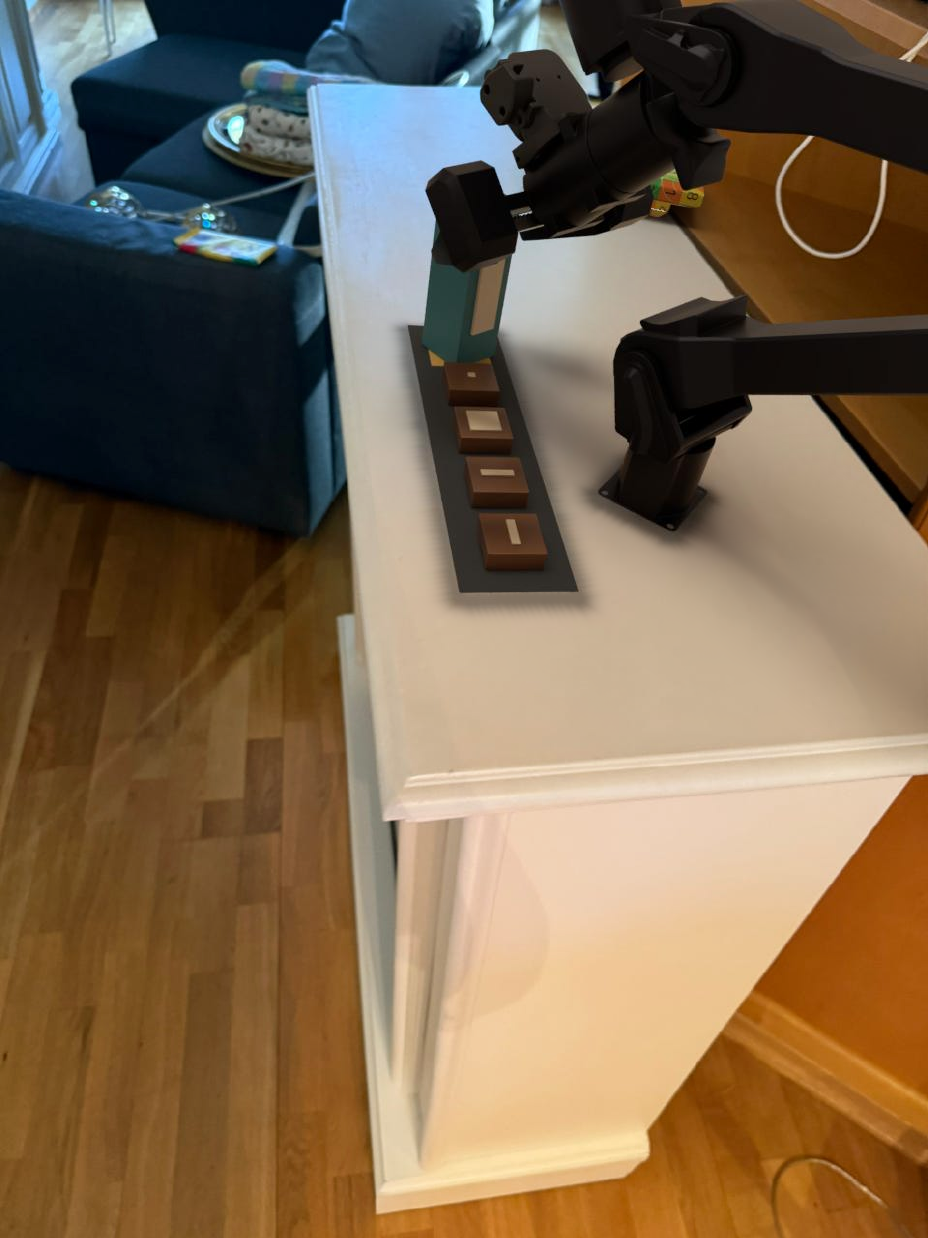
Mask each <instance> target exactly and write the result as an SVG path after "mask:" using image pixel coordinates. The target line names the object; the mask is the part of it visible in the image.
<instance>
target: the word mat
mask: <svg viewBox="0 0 928 1238" xmlns="http://www.w3.org/2000/svg"><path fill="white" fill-rule="evenodd" d="M423 329H424V325H419V324H418V325H416V324H407V331H408V335H409V340H410V341H409V342H410V345H411V350H412V355H413V361H414V367H415V371H416V376H417V377H416V378H417V382H418V386H419V392H420V397H421V403H422V406H423V407H422V408H423V412H424V413H423V414H424V417H425V423H426V428H427V432H428V437H429V444H430V448H431V453H432V454H431V455H432V459H433V464H434V468H435V473H436V479H437V485H438V489H439V494H440V499H441V505H442V511H443V515H444V520H445V521H444V522H445V525H446V531H447V536H448V540H449V545H450V550H451V556H452V561H453V566H454V571H455V577H456V581H457V586H458V592H459V593H460V594H472V593H473V594H476V593H478V594H479V593H480V594H481V593H485V594H487V593H490V594H491V593H578V592H579V588H578V585H577V581H576V579H575V575H574V572H573V569H572V565H571V562H570V560H569V557H568V553H567V550H566V546H565V543H564V541H563V537H562V535H561V531H560V528H559V525H558V522H557V519H556V515H555V512H554V509H553V506H552V503H551V499H550V496H549V493H548V490H547V488H546V487H547V486H546V485H545V484H546V483H545V481H544V478H543V475H542V472H541V468H540V465H539V462H538V458H537V455H536V453H535V450H534V447H533V443H532V440H531V436H530V434H529V430H528V428H527V424H526V421H525V418H524V415H523V412H522V409H521V405H520V402H519V399H518V396H517V392H516V390H515V387H514V383H513V380H512V377H511V374H510V371H509V367H508V364H507V362H506V359H505V355H504V352H503V348H502V346H501V342H500V339H499V336H498V337H497V343H496V349H495V354H494V356H492V357H489V358H486V359H483V360H481V361H478V362H475V363H484V364H492V367H493V371H494V374H495V377H496V381H497V384H498V387H499V391H500V392H499V398H498V403H497V407H487V408H504V409H505V412H506V415H507V419H508V422H509V425H510V429H511V432H512V435H513V444H512V448H511V453H510V454H469V453H459V451H458V447H457V442H456V438H455V433H454V429H453V425H452V418H453V411H454V407H455V406H453V405H448V403H447V398H446V394H445V390H444V385H443V381H442V372H443V364H444V362H445V361H444V360H442V359H441V358H440V357H438V356H437V355H435V354H434V353H433V352H431V351H430V350H429V349H427V348H426V347H425V346H423V345H422V338H423ZM456 407H484V406H456ZM466 457H509V458H519V459H520V463H521V466H522V469H523V473H524V476H525V480H526V483H527V486H528V490H529V496H528V500H527V504H526V508H472V507H471V504H470V500H469V496H468V491H467V487H466V482H465V478H464V474H463V471H464V465H465V459H466ZM480 513H486V514H536V516H537V519H538V523H539V526H540V529H541V533H542V536H543V540H544V543H545V546H546V550H547V553H548V555H547V558H546V562H545V565H544V569H543V570H485V567H484V562H483V558H482V554H481V549H480V545H479V540H478V536H477V531H476V527H477V522H478V517H479V514H480Z"/></svg>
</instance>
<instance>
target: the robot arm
mask: <svg viewBox="0 0 928 1238" xmlns="http://www.w3.org/2000/svg"><path fill="white" fill-rule="evenodd" d="M558 3H559V5H560V8H561V11H562V15H563V17H564V20H565V23H566V25H567V29H568V32H569V35H570V37H571V41H572V44H573V47H574V49H575V52H576V56H577V58H578V60H579V65H580V68H581V70H582V72H583V73H584V75H585V76H590V75H592V74H598V73H601V77H602V79H603V81H604V82H605V83H615V82H619V81H622V80H624V79H626V78H629V77H632V76H633V75H635V74H636V75H635V76H634V77H632V78H631V79H630V80H628V81H627V82H626V83H624V84H623V85H622V86H621V87H620V88H618V89H616V91H614V92H613V93H612V94H611V95H608V97H606V98H605V99H603V101H601V102H600V103H598V105H596V106H594V107H592V105H591V103H590V101H589V98H588V94H587V92H586V91H585V89H584V88H583V86H582V85H581V83H579V81H578V79H577V77H575V75H574V74H573V73H572V71H571V70H570V68H569V67H568V66H567V64H566V63H565V62H564V60H563V59H562V57H560V55H559V54H558V53H556V52H555V51H553V50H552V49H547V48H540V49H533V50H524V51H523V50H522V51H516V52H515V51H514V52H510V53H509V54H508V56H507V57H506V58H499V59H498V60H497V62H496V64H495V65H494V66H493V68H491V69H489V68H488V69H487V70H486V71H484V76H483V79H484V81H483V83H482V85H481V87H480V90H479V100H480V103H481V105H482V106H483V108H484V109H485V111H486V112H487V113H488V115H489V116H490V118H491V119H492V120H493V122H494V123H495V125H496V126H498V127H503V126H507V127H508V128H509V129H510V130H511V132H512V133H513V135H514V136H515V137H516V139H517V140H518V141H519V142H521V143H520V144H519V145H517V146H516V147H515V148H513V149H512V150H511V152H512V155H513V158H514V161H515V164H516V166H517V169H518V170H523V172H524V174H523V176H522V188H523V191H519V192H514V193H511V194H506V196H505V195H504V194H505V193H504V190H503V187H502V185H501V181H500V178H499V176H498V173H497V170H496V167H494V166H492V165H491V164H489V163H487V162H486V161H484V160H481V159H480V160H475V161H469V162H465V163H461V164H456V165H451V166H445V167H442V168H441V169H440V170H439V171H438V172H436V173H435V174H434V175H433V176H432V177H431V178H429V180H427V184H426V186H425V189H424V192H425V195H426V197H427V201H428V203H429V205H430V208H431V210H432V213H433V215H434V218H435V221H437V224H438V226H439V229H440V232H439V234H438V236H437V238H436V241H435V243H434V245H433V244H432V247H431V250H430V253H431V257H432V256H433V259H434V261H435V263H436V264H437V265H446V266H454V267H455V268H457V269H458V270H459V271H461V272H462V273H466V272H469V271H474V270H477V269H481V268H484V267H488V266H491V265H494V264H497V263H498V262H499V261H501V260H504V259H506V258H507V257H509V256H511V255H512V256H513V255H514V254H515V253H516V251H517V250H516V249H517V244H518V238H519V236H520V239H521V241H523V242H528V241H529V242H530V241H531V242H532V241H543V240H544V241H545V240H556V239H569V238H581V237H593V236H594V237H595V236H599V235H602V234H606V233H610V232H613V231H616V230H619V229H622V228H626V227H629V226H632V225H634V224H636V223H638V222H639V221H641V220H644V218H647V217H648V216H649V214H650V211H651V207H652V203H653V200H654V195H653V192H652V189H651V186H650V184H651V183H653V182H655V181H656V180H658V179H659V178H661V177H663V176H664V175H666V174H667V173H669V172H671V171H672V170H674V169H675V171H676V174H677V177H678V180H679V183H680V186H681V188H682V189H683V190H684V191H689V190H692V189H696V188H699V187H703V186H704V187H706V186H709V185H714V184H717V183H720V182H722V181H723V179H724V176H725V170H726V166H727V154H728V151H729V149H730V148H731V145H732V141H731V139H730V138H729V137H725V136H723V135H721V134H720V133H719V131H718V130H722V131H730V132H737V133H745V134H770V135H771V134H772V135H774V134H775V135H779V134H780V135H799V136H807V137H808V136H809V137H814V138H815V137H816V138H820V139H823V140H825V141H828V142H831V143H834V144H837V145H839V146H842V147H845V148H848V149H851V150H854V151H856V152H860V153H863V154H866V155H868V156H872V157H874V158H876V159H880V160H883V161H886V162H888V163H891V164H894V165H897V166H900V167H903V168H906V169H908V170H912V171H915V172H916V173H920V174H923V175H926V176H928V66H925V65H922V64H918V63H916V62H911V61H908V60H904V59H901V58H899V57H898V58H897V57H894V56H890V55H887V54H884V53H880V52H877V51H875V50H874V49H872V48H870V47H868V46H867V45H865V44H863V43H862V42H860V41H858V39H856V38H855V37H854V36H853V35H852V34H851V33H850V32H848V30H847V29H846V28H845V27H844V26H842V24H840V23H839V22H837V21H836V20H833V19H832V18H830V17H828V16H826V15H825V14H823V13H821V12H819V11H818V10H816V9H814V8H813V7H810V6H809V5H806V3H805V4H804V3H803V2H801V1H800V0H730V1H717V2H712V3H709V4H698V5H688V6H683V4H682V1H681V0H558ZM515 215H519V216H518V217H517V216H515ZM512 216H515V217H514V218H513V217H512ZM748 298H749V297H748V295H747V294H741V295H739V296H734V297H732V298H729V299H724V300H711V299H708V298H706V297H703V296H698V297H697V298H694V299H692V300H689V301H686V302H684V303H681V304H679V305H676V306H674V307H671V308H668V309H666V310H663V311H660V312H658V313H656V314H653V315H650V316H648V317H644V318H642V319H640V320H639V325H640V327H641V328H639V329H636V330H634V331H633V330H632V331H631V332H628V333H626V334H624V335H623V336H622V337H620V339H619V343H618V345H617V347H616V348H615V350H614V355H613V359H612V375H613V404H614V405H613V406H614V408H613V409H614V410H613V411H614V413H613V414H614V431H615V433H616V434H618V435H619V436H621V437H622V438H624V439H625V440H626V442H627V443H628V446H627V449H626V452H625V455H624V458H623V461H622V464H621V467H620V468H619V469H618V470H617V471H616V472H615V473H614V474H613V475H612V476H611V477H610V478H608V480H607V481H606V482H605V483H604V484H603V485H601V487H600V488H599V489H598V490H597V493H598V495H599V496H601V497H603V498H604V499H606V500H609V501H610V502H612V503H614V504H616V505H618V506H619V507H621V508H623V509H626V510H628V511H629V512H632V513H633V514H634V515H635V514H636V515H637V516H639V517H641V518H643V519H645V520H647V521H649V522H650V523H653V524H655V525H656V526H659V527H660V528H663V529H664V530H666V531H668V532H676V531H678V529H679V528H680V527H681V526H682V524H683V523H684V522H685V521H686V520H687V519H688V517H689V516H690V515H691V514H692V512H694V511H695V509H696V508H697V507H698V506H699V504H700V503H702V501H703V500H704V499H705V497H706V496H707V495H708V490H707V489H706V488H704V487H702V486H701V485H699V483H700V482H701V479H702V476H703V474H704V471H705V469H706V467H707V464H708V462H709V459H710V457H711V454H712V452H713V450H714V447H715V444H716V442H717V437H718V436H720V435H722V434H724V433H726V432H727V431H729V430H734V429H735V428H738V426H739V425H740V424H741V423H743V421H745V419H746V418H747V417H748V416H750V415H751V413H752V412H753V405H752V402H751V399H750V396H858V397H859V396H860V397H861V396H866V397H867V396H869V397H871V396H878V397H881V396H883V397H886V396H889V397H890V396H891V397H893V396H894V397H895V396H896V397H898V396H899V397H907V396H908V397H909V396H910V397H928V314H915V315H914V314H913V315H898V316H897V315H895V316H882V317H881V316H880V317H865V318H847V319H832V320H829V319H828V320H816V321H814V320H813V321H800V322H798V321H797V322H783V323H781V322H780V323H768V322H767V323H766V322H761V321H760V320H757V319H755V318H752V317H751V316H748V315H747V313H748V311H747V310H748ZM700 490H701V491H703V492H700ZM603 492H606V494H605V493H603ZM668 525H670V526H673V528H671V527H669V526H668Z"/></svg>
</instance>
